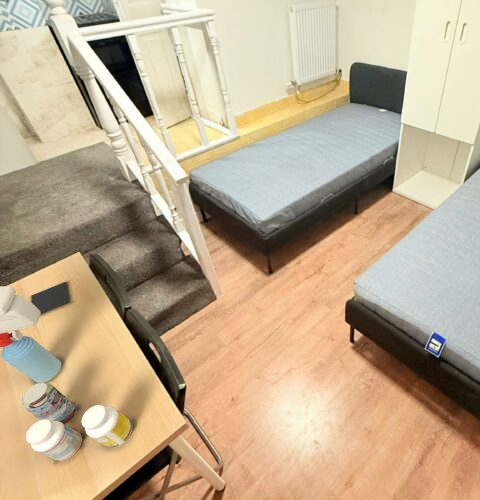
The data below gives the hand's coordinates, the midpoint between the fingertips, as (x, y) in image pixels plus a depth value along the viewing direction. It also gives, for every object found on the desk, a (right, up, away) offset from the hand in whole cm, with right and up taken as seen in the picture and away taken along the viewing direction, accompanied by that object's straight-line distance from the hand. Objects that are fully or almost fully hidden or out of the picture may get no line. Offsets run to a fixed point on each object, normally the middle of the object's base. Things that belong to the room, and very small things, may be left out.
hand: (7, 340), depth 80 cm
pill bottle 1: (+17, -24, -2) cm, 29 cm away
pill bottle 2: (+27, -22, -1) cm, 35 cm away
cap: (0, +2, -1) cm, 2 cm away
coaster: (-13, +6, +29) cm, 32 cm away
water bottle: (+1, -11, +11) cm, 16 cm away
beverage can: (+12, -19, +3) cm, 23 cm away
